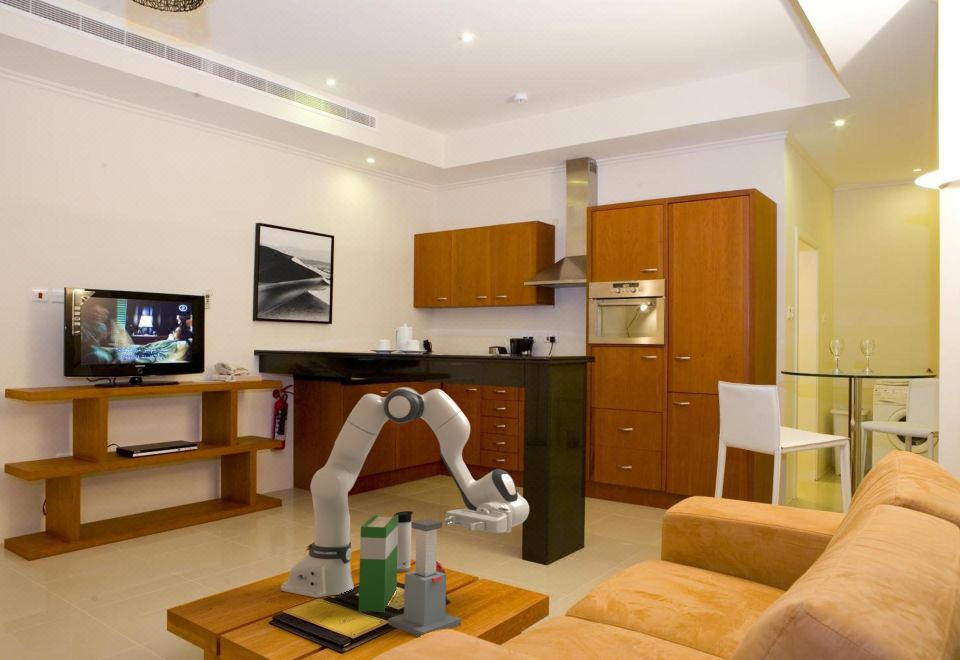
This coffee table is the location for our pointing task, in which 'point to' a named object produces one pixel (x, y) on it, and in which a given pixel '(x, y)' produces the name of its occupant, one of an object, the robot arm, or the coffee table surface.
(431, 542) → the steel column
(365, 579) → the hardback book
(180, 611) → the coffee table surface
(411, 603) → the stand sleeve
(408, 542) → the travel mug
